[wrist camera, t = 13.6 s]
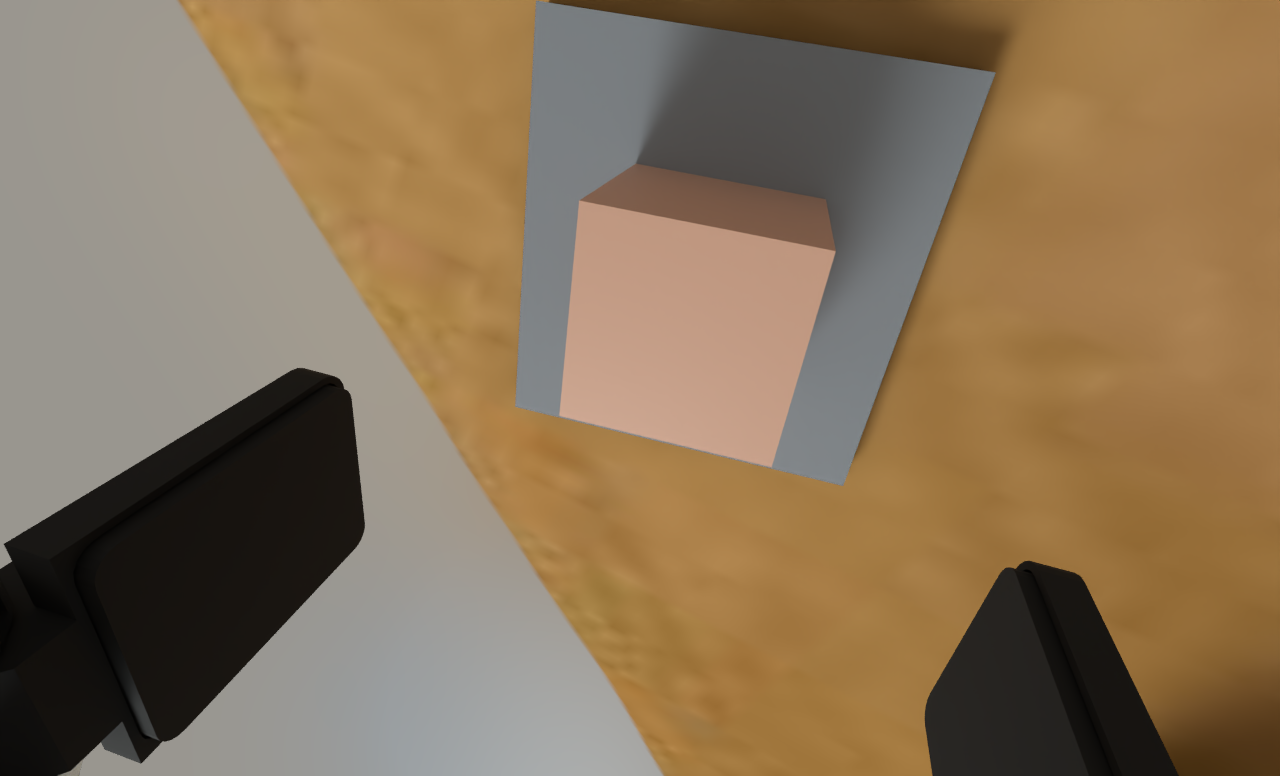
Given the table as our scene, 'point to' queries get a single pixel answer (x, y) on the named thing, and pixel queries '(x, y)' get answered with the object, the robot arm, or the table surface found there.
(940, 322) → the table surface
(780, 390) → the terracotta cube
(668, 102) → the slate mat
